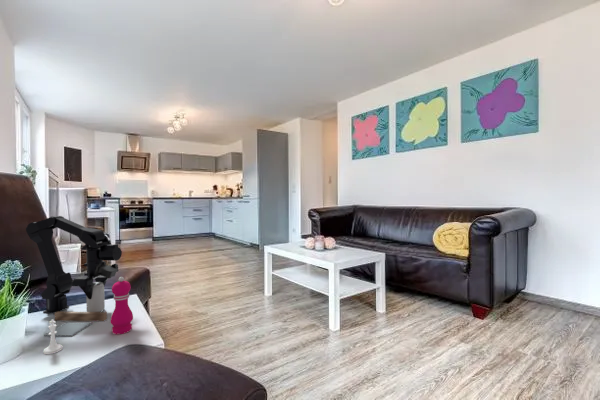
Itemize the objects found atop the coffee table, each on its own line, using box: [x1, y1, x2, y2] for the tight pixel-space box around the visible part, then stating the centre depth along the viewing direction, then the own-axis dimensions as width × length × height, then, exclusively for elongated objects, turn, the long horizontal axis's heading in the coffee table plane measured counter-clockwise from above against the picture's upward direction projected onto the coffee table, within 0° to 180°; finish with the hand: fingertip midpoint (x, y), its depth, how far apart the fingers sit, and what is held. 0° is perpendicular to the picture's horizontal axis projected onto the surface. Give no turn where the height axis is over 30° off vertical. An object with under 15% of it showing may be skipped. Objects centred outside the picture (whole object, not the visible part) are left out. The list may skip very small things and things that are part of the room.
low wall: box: [54, 311, 108, 322], centre depth 120 cm, size 20×2×3 cm, turn 89°
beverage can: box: [85, 281, 106, 312], centre depth 129 cm, size 6×6×12 cm
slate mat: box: [43, 321, 93, 338], centre depth 112 cm, size 10×10×1 cm
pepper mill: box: [110, 276, 134, 335], centre depth 111 cm, size 7×7×20 cm
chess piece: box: [42, 318, 64, 355], centre depth 98 cm, size 5×5×10 cm
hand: (95, 296), depth 129 cm, fingers closed on beverage can, 6 cm apart
